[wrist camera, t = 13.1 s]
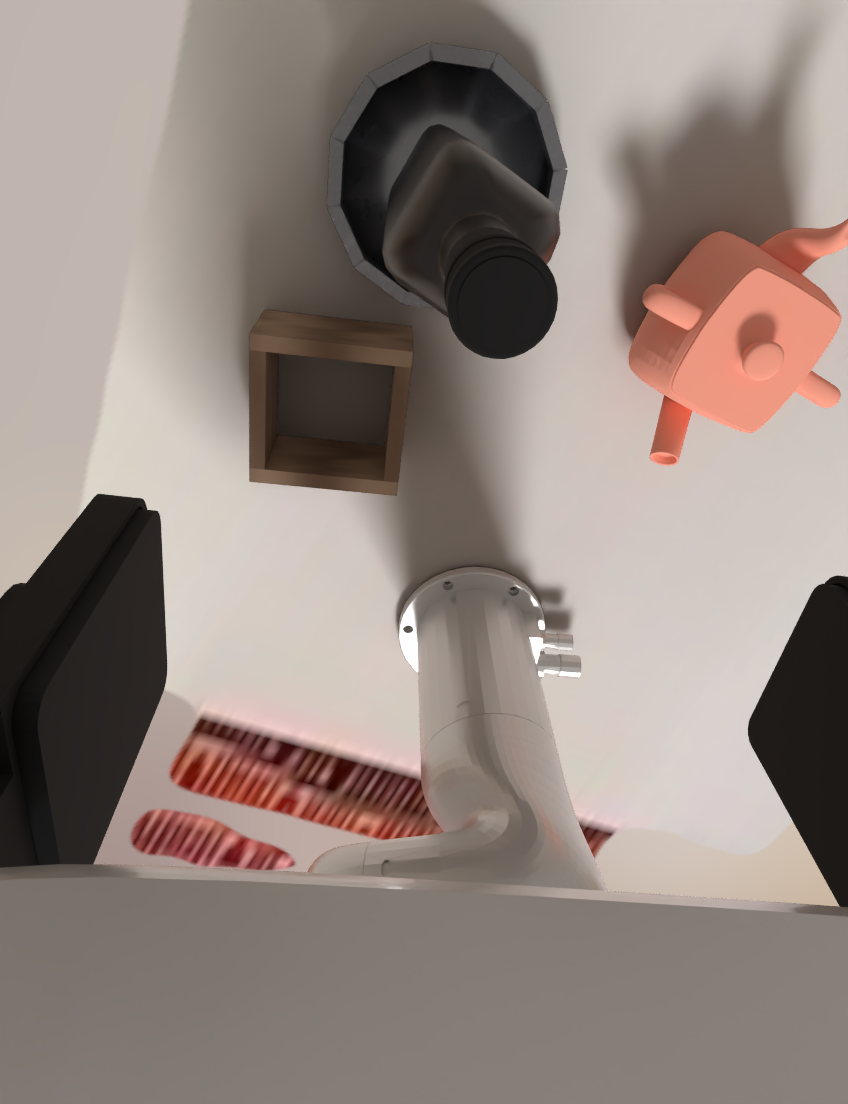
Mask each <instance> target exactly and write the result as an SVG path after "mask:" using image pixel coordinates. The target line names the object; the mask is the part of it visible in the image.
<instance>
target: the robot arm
mask: <svg viewBox="0 0 848 1104" xmlns="http://www.w3.org/2000/svg"><path fill="white" fill-rule="evenodd" d="M447 581H449V582H447ZM399 642H400V647H401V650H402V652H403V654H404V657H405V658H406V660H407V661H408V662H409V664H410V665H411V667H413V668H414V669H415V670H416V671H417V672H418V689H419V721H420V752H421V781H422V789H423V793H424V797H425V800H426V803H427V805H428V807H429V809H430V811H431V813H432V815H433V817H434V818H435V820H436V821H437V823H438V824H439V826H440V827H441V828H442V830H443V831H444V832H441V834H434V835H425V836H416V837H407V838H398V839H389V840H380V841H371V842H365V843H357V844H351V845H346V846H341V847H337V848H334V849H332V850H329V851H327V852H325V853H324V854H322V855H321V856H319V857H318V858H317V859H316V860H315V861H314V862H313V864H312V865H311V866H310V868H309V870H308V872H289V871H267V870H244V869H221V868H199V867H174V866H152V865H93V863H94V861H95V858H96V856H97V854H98V851H99V848H100V846H101V844H102V841H103V839H104V836H105V834H106V831H107V829H108V827H109V824H110V821H111V819H112V816H113V814H114V812H115V809H116V807H117V804H118V802H119V799H120V797H121V795H122V792H123V790H124V787H125V785H126V782H127V780H128V777H129V775H130V772H131V770H132V768H133V765H134V763H135V760H136V758H137V755H138V753H139V750H140V748H141V745H142V743H143V740H144V738H145V736H146V733H147V731H148V728H149V726H150V723H151V720H152V718H153V716H154V714H155V711H156V708H157V706H158V704H159V701H160V699H161V696H162V694H163V691H164V687H165V683H166V677H167V649H166V627H165V605H164V583H163V561H162V539H161V520H160V515H159V513H158V511H153V510H147V507H146V504H145V501H144V500H143V499H141V498H132V497H123V496H114V495H105V494H97V495H96V496H95V497H94V498H93V499H92V501H91V502H90V503H89V504H88V506H87V507H86V508H85V509H84V511H83V512H82V513H81V515H80V516H79V517H78V518H77V520H76V521H75V522H74V523H73V525H72V526H71V527H70V529H69V530H68V531H67V532H66V534H65V535H64V536H63V537H62V539H61V540H60V541H59V542H58V544H57V545H56V546H55V548H54V549H53V550H52V551H51V553H50V554H49V555H48V556H47V558H46V559H45V560H44V562H43V563H42V564H41V565H40V567H39V568H38V569H37V570H36V572H35V573H34V574H33V576H32V577H31V578H30V579H29V580H28V582H27V583H19V584H15V585H13V586H12V587H11V588H10V589H9V590H7V591H6V592H5V593H4V595H3V596H2V597H1V598H0V1104H848V577H845V576H834V577H831V578H830V579H829V580H827V581H826V582H825V584H821V585H818V586H817V587H816V588H815V589H814V590H813V592H812V594H811V596H810V598H809V600H808V602H807V604H806V606H805V608H804V610H803V612H802V614H801V616H800V618H799V620H798V622H797V624H796V626H795V628H794V630H793V632H792V634H791V636H790V638H789V640H788V642H787V644H786V646H785V649H784V651H783V653H782V655H781V657H780V659H779V661H778V663H777V665H776V667H775V669H774V671H773V673H772V675H771V677H770V679H769V681H768V683H767V685H766V687H765V689H764V691H763V693H762V695H761V697H760V699H759V701H758V703H757V705H756V708H755V710H754V712H753V714H752V716H751V718H750V721H749V725H748V736H749V741H750V743H751V746H752V748H753V749H754V751H755V753H756V755H757V757H758V758H759V760H760V762H761V764H762V766H763V768H764V769H765V771H766V773H767V775H768V777H769V778H770V780H771V782H772V784H773V786H774V788H775V789H776V791H777V793H778V795H779V797H780V799H781V800H782V802H783V804H784V806H785V808H786V809H787V811H788V813H789V815H790V817H791V819H792V820H793V822H794V824H795V826H796V828H797V829H798V831H799V833H800V835H801V837H802V839H803V840H804V842H805V844H806V846H807V848H808V849H809V851H810V853H811V855H812V857H813V859H814V860H815V862H816V864H817V866H818V868H819V869H820V871H821V873H822V875H823V877H824V879H825V880H826V882H827V884H828V886H829V888H830V890H831V891H832V893H833V895H834V897H835V899H836V900H837V902H838V904H839V906H840V907H837V906H822V905H809V904H795V903H780V902H766V901H751V900H737V899H722V898H721V899H720V898H706V897H692V896H675V895H661V894H646V893H630V892H616V891H608V890H607V888H606V885H605V883H604V880H603V877H602V875H601V873H600V870H599V868H598V866H597V864H596V862H595V859H594V857H593V855H592V853H591V851H590V848H589V846H588V844H587V842H586V839H585V837H584V835H583V833H582V830H581V828H580V825H579V823H578V820H577V817H576V815H575V812H574V809H573V806H572V803H571V800H570V796H569V793H568V790H567V786H566V783H565V779H564V775H563V771H562V767H561V763H560V759H559V755H558V751H557V747H556V743H555V739H554V734H553V730H552V726H551V722H550V718H549V714H548V710H547V706H546V701H545V697H544V693H543V689H542V685H541V681H540V678H542V677H543V675H544V674H546V675H557V676H558V677H569V678H578V677H579V676H580V673H581V659H580V657H579V656H576V655H563V654H558V655H551V654H545V653H544V649H545V648H551V649H556V650H566V651H571V650H572V647H573V636H572V635H571V634H558V633H557V634H549V633H546V632H545V620H544V614H543V611H542V608H541V605H540V603H539V601H538V599H537V597H536V596H535V594H534V593H533V592H532V590H531V589H530V588H529V587H528V586H527V585H526V584H525V583H523V582H522V581H520V580H519V579H518V578H516V577H514V576H512V575H510V574H508V573H506V572H503V571H500V570H496V569H492V568H484V567H465V568H458V569H454V570H450V571H446V572H444V573H441V574H439V575H437V576H434V577H433V578H431V579H429V580H428V581H426V582H425V583H423V584H422V585H421V586H420V587H419V588H418V589H416V590H415V591H414V592H413V593H412V595H411V596H410V597H409V599H408V600H407V602H406V603H405V605H404V607H403V610H402V612H401V615H400V620H399Z"/></svg>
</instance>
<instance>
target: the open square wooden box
mask: <svg viewBox="0 0 848 1104" xmlns="http://www.w3.org/2000/svg"><path fill="white" fill-rule="evenodd" d="M279 353H281V354H290V355H300V356H309V357H318V358H327V359H336V360H345V361H354V362H363V363H372V364H381V365H390V366H393V373H392V383H391V393H390V403H389V412H388V422H387V432H386V442H385V446H381V445H371V444H361V443H351V442H342V441H332V440H322V439H312V438H302V437H292V436H283V435H277V420H278V371H279ZM412 358H413V338H412V327H411V326H402V325H394V324H385V323H376V322H368V321H359V320H350V319H342V318H333V317H325V316H316V315H307V314H299V313H290V312H281V311H273V310H264V312H263V313H262V315H261V316H260V318H259V319H258V321H257V323H256V324H255V326H254V327H253V329H252V330H251V332H250V333H249V482H259V483H269V484H280V485H290V486H301V487H311V488H322V489H332V490H343V491H353V492H363V493H374V494H384V495H395V496H397V489H398V480H399V472H400V463H401V454H402V446H403V437H404V428H405V419H406V411H407V402H408V393H409V385H410V376H411V367H412Z"/></svg>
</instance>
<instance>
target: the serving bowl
mask: <svg viewBox="0 0 848 1104" xmlns="http://www.w3.org/2000/svg"><path fill="white" fill-rule="evenodd" d="M369 76H370V78H369V77H368V76H366V77H365V79H364V80H363V82H362V84H361V85H360V87H359V89H358V90H357V92H356V94H355V95H354V97H353V99H352V100H351V102H350V104H349V105H348V107H347V109H346V110H345V112H344V114H343V115H342V117H341V119H340V120H339V122H338V124H337V125H336V127H335V129H334V130H333V132H332V134H331V136H333V137H330V147H329V168H328V188H327V206H328V208H327V209H328V212H329V214H330V216H331V218H332V220H333V223H334V225H335V227H336V229H337V231H338V234H339V236H340V238H341V240H342V242H343V245H344V247H345V249H346V251H347V254H348V256H349V258H350V260H351V262H352V265H353V266H355V269H356V270H358V271H359V272H360V273H362V274H363V275H364V276H366V277H367V278H368V279H370V280H371V281H372V282H373V283H375V284H376V285H377V286H379V287H380V288H381V289H383V290H384V291H385V292H387V293H388V294H389V295H391V296H392V297H393V298H395V299H396V300H397V301H399V302H400V303H401V304H402V302H403V301H404V305H412V306H420V307H429V308H434V307H432V306H431V305H429V304H428V303H427V302H425V301H424V300H422V299H421V298H419V297H418V296H416V295H415V294H413V293H412V292H411V291H409V290H408V289H406V288H405V287H403V286H402V285H401V284H399V283H398V282H397V281H396V279H395V278H394V277H393V276H392V274H391V273H390V272H389V271H388V269H387V268H386V266H385V262H384V257H383V253H382V250H383V241H384V233H385V224H386V215H387V206H388V198H389V194H390V190H391V187H392V186H393V184H394V182H395V180H396V179H397V177H398V175H399V173H400V172H401V170H402V168H403V166H404V165H405V163H406V161H407V159H408V158H409V156H410V154H411V152H412V151H413V149H414V147H415V145H416V144H417V142H418V140H419V138H420V137H421V135H422V133H423V132H424V131H425V130H426V129H427V128H428V127H429V126H432V125H437V124H441V125H444V126H446V127H449V128H451V129H452V130H454V131H456V132H457V133H459V134H461V135H462V136H464V137H466V138H467V139H469V140H471V141H472V142H474V143H476V144H477V145H479V146H480V147H481V148H483V149H484V150H485V151H486V152H488V153H489V154H490V155H492V156H493V157H494V158H496V159H497V160H498V161H499V162H501V163H502V164H503V165H505V166H506V167H507V168H508V169H510V170H511V171H512V172H514V173H515V174H516V175H518V176H519V177H520V178H521V179H523V180H524V181H525V182H527V183H528V184H529V185H530V186H532V187H533V188H534V189H536V190H537V191H538V192H540V193H541V194H542V195H543V196H545V197H546V198H547V199H549V200H550V202H551V203H552V204H553V206H554V207H555V209H556V210H557V211H558V213H559V210H560V205H561V200H562V195H563V190H564V185H565V180H566V175H567V170H566V169H565V168H567V165H566V161H565V158H564V154H563V151H562V147H561V144H560V140H559V137H558V133H557V130H556V126H555V123H554V119H553V116H552V112H551V109H550V105H549V102H546V100H547V99H546V98H545V97H544V96H543V95H542V94H541V93H540V92H539V91H538V90H537V89H535V88H534V87H533V86H532V85H531V84H530V83H529V82H528V81H527V80H526V79H525V78H524V77H523V76H522V75H521V74H520V73H519V72H518V71H516V70H515V69H514V68H513V67H512V66H511V65H510V64H509V63H508V62H507V61H506V60H505V59H504V58H503V57H502V56H501V55H500V54H499V53H498V54H496V52H492V51H485V50H478V49H471V48H465V47H458V46H451V45H445V44H438V43H430V46H429V43H427V44H425V45H423V46H421V47H419V48H417V49H415V50H413V51H412V52H410V53H408V54H406V55H404V56H402V57H400V58H398V59H396V60H394V61H392V62H390V63H388V64H386V65H384V66H382V67H380V68H378V69H376V70H375V71H373V72H371V73H369Z"/></svg>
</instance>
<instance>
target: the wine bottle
mask: <svg viewBox="0 0 848 1104" xmlns="http://www.w3.org/2000/svg"><path fill="white" fill-rule="evenodd" d="M559 236H560V223H559V213H558V211H557V210H556V209H555V207H554V206H553V204H552V203H551V202H550V200H549V199H547V198H546V197H545V196H543V195H542V194H541V193H540V192H538V191H537V190H536V189H534V188H533V187H532V186H530V185H529V184H528V183H527V182H525V181H524V180H523V179H521V178H520V177H519V176H518V175H516V174H515V173H514V172H512V171H511V170H510V169H508V168H507V167H506V166H505V165H503V164H502V163H501V162H499V161H498V160H497V159H496V158H494V157H493V156H492V155H490V154H489V153H488V152H486V151H485V150H484V149H483V148H481V147H480V146H479V145H477V144H476V143H474V142H472V141H471V140H469V139H467V138H466V137H464V136H462V135H461V134H459V133H457V132H456V131H454V130H452V129H451V128H449V127H446V126H444V125H441V124H437V125H432V126H429V127H428V128H427V129H426V130H425V131H424V132H423V133H422V135H421V137H420V138H419V140H418V142H417V144H416V145H415V147H414V149H413V151H412V152H411V154H410V156H409V158H408V159H407V161H406V163H405V165H404V166H403V168H402V170H401V172H400V173H399V175H398V177H397V179H396V180H395V182H394V184H393V186H392V187H391V190H390V194H389V198H388V206H387V215H386V224H385V233H384V241H383V250H382V253H383V257H384V262H385V266H386V268H387V269H388V271H389V272H390V273H391V274H392V276H393V277H394V278H395V279H396V281H397V282H398V283H399V284H401V285H402V286H403V287H405V288H406V289H408V290H409V291H411V292H412V293H413V294H415V295H416V296H418V297H419V298H421V299H422V300H424V301H425V302H427V303H428V304H429V305H431V306H432V307H434V308H435V309H437V310H438V311H440V312H441V313H442V314H444V315H445V316H447V317H448V318H449V321H450V324H451V327H452V330H453V332H454V333H455V335H456V336H457V338H458V339H459V340H460V341H461V342H462V343H463V345H464V346H465V347H467V348H468V349H470V350H471V351H473V352H474V353H477V354H479V355H481V356H483V357H488V358H494V359H506V358H511V357H515V356H518V355H520V354H523V353H525V352H527V351H528V350H530V349H531V348H533V347H534V346H535V345H536V344H538V343H539V342H540V341H541V340H542V339H543V337H544V336H545V335H546V333H547V332H548V331H549V329H550V327H551V325H552V323H553V321H554V318H555V314H556V311H557V302H558V295H557V286H556V283H555V279H554V276H553V274H552V273H551V271H550V269H549V267H548V266H547V263H548V262H549V261H550V259H551V257H552V254H553V252H554V249H555V247H556V244H557V242H558V239H559Z"/></svg>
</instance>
